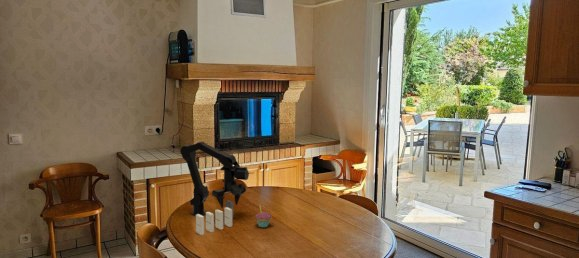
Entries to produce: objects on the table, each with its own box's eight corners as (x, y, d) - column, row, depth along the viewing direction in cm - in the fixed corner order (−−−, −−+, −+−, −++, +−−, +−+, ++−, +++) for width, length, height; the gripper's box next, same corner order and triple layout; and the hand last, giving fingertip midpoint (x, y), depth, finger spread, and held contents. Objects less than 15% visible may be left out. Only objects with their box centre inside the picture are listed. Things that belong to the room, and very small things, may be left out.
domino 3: (220, 229, 200) (220, 212, 199) (215, 227, 203) (215, 210, 202) (223, 229, 201) (223, 211, 200) (218, 226, 204) (217, 209, 203)
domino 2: (211, 232, 196) (210, 214, 195) (205, 229, 199) (205, 212, 198) (213, 231, 197) (213, 214, 196) (208, 228, 200) (208, 211, 199)
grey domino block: (230, 218, 216) (230, 202, 215) (225, 216, 219) (225, 200, 218) (233, 218, 217) (233, 202, 216) (228, 215, 220) (228, 200, 219)
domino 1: (201, 235, 192) (200, 217, 191) (196, 232, 196) (195, 214, 195) (204, 234, 193) (203, 216, 192) (199, 231, 197) (198, 214, 196)
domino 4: (229, 227, 203) (229, 210, 202) (224, 224, 207) (224, 207, 206) (232, 226, 204) (232, 209, 203) (227, 223, 208) (227, 207, 207)
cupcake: (256, 229, 201) (256, 206, 199) (253, 223, 209) (253, 201, 207) (273, 228, 203) (273, 205, 202) (269, 222, 211) (269, 200, 210)
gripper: (222, 184, 203) (223, 213, 205) (252, 178, 216) (251, 206, 218) (211, 179, 211) (211, 208, 213) (240, 174, 224) (240, 201, 226)
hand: (229, 206), depth 217 cm, fingers open, 9 cm apart
